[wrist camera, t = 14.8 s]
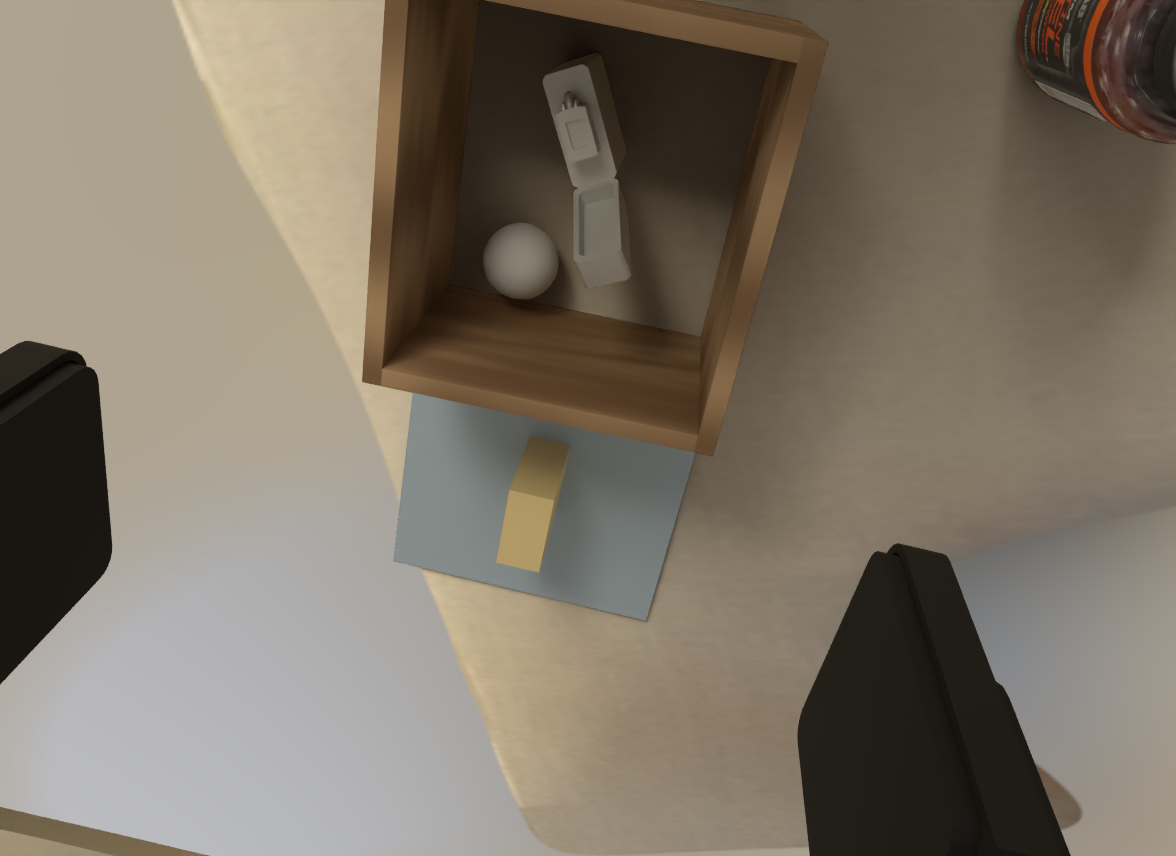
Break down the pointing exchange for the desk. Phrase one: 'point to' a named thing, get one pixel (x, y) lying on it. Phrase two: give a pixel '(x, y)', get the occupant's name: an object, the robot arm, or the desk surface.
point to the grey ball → (520, 261)
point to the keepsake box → (542, 332)
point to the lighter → (592, 167)
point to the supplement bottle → (1106, 60)
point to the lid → (538, 505)
